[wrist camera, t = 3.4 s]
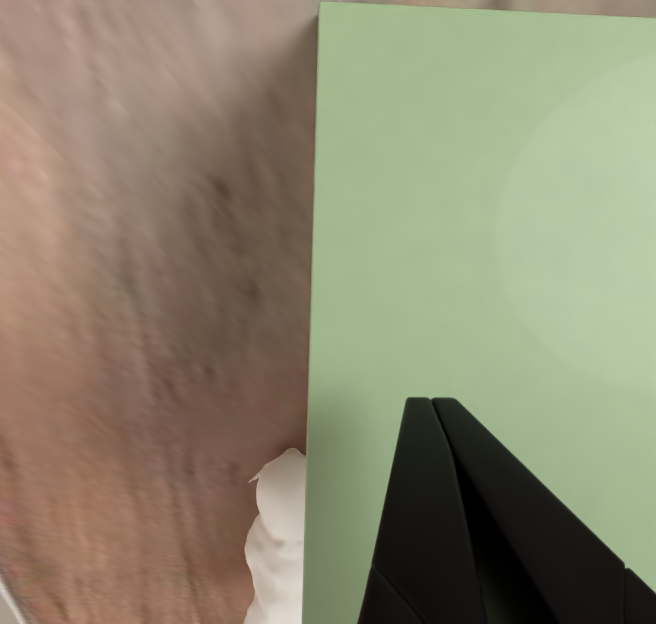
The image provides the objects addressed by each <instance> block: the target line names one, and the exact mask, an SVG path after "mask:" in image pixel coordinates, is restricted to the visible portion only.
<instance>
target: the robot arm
mask: <svg viewBox="0 0 656 624" xmlns="http://www.w3.org/2000/svg"><path fill="white" fill-rule="evenodd" d="M357 624H656V593H655V592H654V591H653V590H652V589H651V588H650V587H649V586H648V585H647V584H646V583H645V582H644V581H643V580H642V579H641V578H640V577H639V576H638V575H637V574H636V573H635V572H634V571H633V570H632V569H630V568H625V563H624V562H623V561H622V560H621V559H620V558H619V557H618V556H617V555H616V554H615V553H614V552H613V551H612V550H611V549H610V548H609V547H608V546H607V545H606V544H605V543H604V542H603V541H602V540H601V539H600V538H599V537H598V536H597V535H596V534H594V533H593V532H592V531H591V530H590V529H589V528H588V527H587V526H586V525H585V524H584V523H583V522H582V521H581V520H580V519H579V518H578V517H577V516H576V515H575V514H574V513H573V512H572V511H571V510H570V509H569V508H568V507H567V506H566V505H565V504H564V503H563V502H562V501H561V500H560V499H559V498H558V497H557V496H556V495H554V494H553V493H552V492H551V491H550V490H549V489H548V488H547V487H546V486H545V485H544V484H543V483H542V482H541V481H540V480H539V479H538V478H537V477H536V476H535V475H534V474H533V473H532V472H531V471H530V470H529V469H528V468H527V467H526V466H525V465H524V464H523V463H522V462H521V461H520V460H519V459H518V458H517V457H516V456H514V455H513V454H512V453H511V452H510V451H509V450H508V449H507V448H506V447H505V446H504V445H503V444H502V443H501V442H500V441H499V440H498V439H497V438H496V437H495V436H494V435H493V434H492V433H491V432H490V431H489V430H488V429H487V428H486V427H485V426H484V425H483V424H482V423H481V422H480V421H479V420H478V419H477V418H476V417H474V416H473V415H472V414H471V413H470V412H469V411H468V410H467V409H466V408H465V407H464V406H463V405H462V404H461V403H460V402H459V401H458V400H457V399H455V398H452V397H434V398H432V399H429V398H428V397H408V398H407V399H406V401H405V406H404V411H403V415H402V420H401V425H400V430H399V434H398V439H397V444H396V449H395V453H394V458H393V463H392V467H391V472H390V477H389V482H388V486H387V491H386V496H385V500H384V505H383V510H382V515H381V519H380V524H379V529H378V534H377V538H376V543H375V548H374V552H373V557H372V562H371V568H370V570H369V575H368V579H367V584H366V589H365V593H364V598H363V602H362V606H361V610H360V614H359V618H358V622H357Z"/></svg>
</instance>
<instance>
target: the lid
mask: <svg viewBox="0 0 656 624" xmlns="http://www.w3.org/2000/svg"><path fill="white" fill-rule="evenodd" d="M408 397H428V398H429V399H432V398H434V397H452V398H455V399H457V400H458V401H459V402H460V403H461V404H462V405H463V406H464V407H465V408H466V409H467V410H468V411H469V412H470V413H471V414H472V415H473V416H474V417H476V418H477V419H478V420H479V421H480V422H481V423H482V424H483V425H484V426H485V427H486V428H487V429H488V430H489V431H490V432H491V433H492V434H493V435H494V436H495V437H496V438H497V439H498V440H499V441H500V442H501V443H502V444H503V445H504V446H505V447H506V448H507V449H508V450H509V451H510V452H511V453H512V454H513V455H514V456H516V457H517V458H518V459H519V460H520V461H521V462H522V463H523V464H524V465H525V466H526V467H527V468H528V469H529V470H530V471H531V472H532V473H533V474H534V475H535V476H536V477H537V478H538V479H539V480H540V481H541V482H542V483H543V484H544V485H545V486H546V487H547V488H548V489H549V490H550V491H551V492H552V493H553V494H554V495H556V496H557V497H558V498H559V499H560V500H561V501H562V502H563V503H564V504H565V505H566V506H567V507H568V508H569V509H570V510H571V511H572V512H573V513H574V514H575V515H576V516H577V517H578V518H579V519H580V520H581V521H582V522H583V523H584V524H585V525H586V526H587V527H588V528H589V529H590V530H591V531H592V532H593V533H594V534H596V535H597V536H598V537H599V538H600V539H601V540H602V541H603V542H604V543H605V544H606V545H607V546H608V547H609V548H610V549H611V550H612V551H613V552H614V553H615V554H616V555H617V556H618V557H619V558H620V559H621V560H622V561H623V562H624V563H625V568H630V569H632V570H633V571H634V572H635V573H636V574H637V575H638V576H639V577H640V578H641V579H642V580H643V581H644V582H645V583H646V584H647V585H648V586H649V587H650V588H651V589H652V590H653V591H654V592H655V593H656V18H644V17H624V16H604V15H585V14H565V13H545V12H525V11H505V10H486V9H466V8H446V7H426V6H407V5H387V4H367V3H347V2H327V1H320V2H319V7H318V43H317V80H316V116H315V153H314V189H313V226H312V262H311V299H310V335H309V372H308V409H307V445H306V482H305V518H304V555H303V591H302V624H357V622H358V618H359V614H360V610H361V606H362V602H363V598H364V593H365V589H366V584H367V579H368V575H369V570H370V568H371V562H372V557H373V552H374V548H375V543H376V538H377V534H378V529H379V524H380V519H381V515H382V510H383V505H384V500H385V496H386V491H387V486H388V482H389V477H390V472H391V467H392V463H393V458H394V453H395V449H396V444H397V439H398V434H399V430H400V425H401V420H402V415H403V411H404V406H405V401H406V399H407V398H408Z"/></svg>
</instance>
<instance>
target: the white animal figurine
mask: <svg viewBox="0 0 656 624" xmlns="http://www.w3.org/2000/svg"><path fill="white" fill-rule="evenodd" d="M263 467H264V468H263V469H262V470H261V471H260V472H259V473H257V474H256V475H255V476H254V477H253V478H252V479H251V480H250V481H252V480H253V479H255V480H256V479H257V478H258V477H259V479H258V483H257V489H256V500H257V506H258V509H259V512H260V514H259V515H258V516H257V517H256V518H255V520H254V522H253V525H252V527H251V529H250V530H249V532H248V535H247V540H246V544H245V555H246V561H247V564H248V566H249V568H250V570H251V573H252V578H253V586H254V589H255V597H254V600H253V602H252V603H251V604H250V606H249V607H248V609H247V616H246V617H245V620H244V624H302V591H303V555H304V518H305V482H306V456H305V455H303V454H301V453H300V451H299V450H298V449H296V448H289V449H287V450H286V451H285V452H284V453H283V454H282V455H281V456H279V457H278V458H276V459H275V460H273V461H271V462H269V463H267V464H266V465H264V466H263ZM259 469H260V468H259ZM255 480H254V481H255ZM250 481H249V482H250ZM249 482H248V483H249Z"/></svg>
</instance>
